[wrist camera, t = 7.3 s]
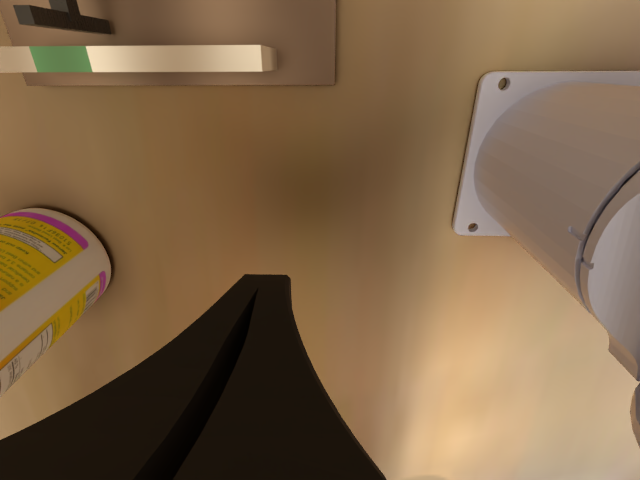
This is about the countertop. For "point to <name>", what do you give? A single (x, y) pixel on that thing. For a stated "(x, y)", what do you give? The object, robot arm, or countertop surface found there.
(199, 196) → the countertop surface
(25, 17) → the silver cylinder with block
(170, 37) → the base
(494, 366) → the countertop surface
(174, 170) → the countertop surface
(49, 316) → the supplement bottle
